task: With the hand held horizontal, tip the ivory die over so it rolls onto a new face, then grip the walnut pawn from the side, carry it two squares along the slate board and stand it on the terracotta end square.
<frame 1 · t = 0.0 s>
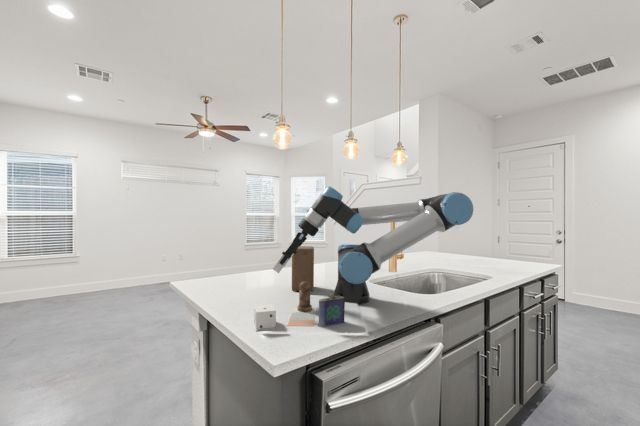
hand: (278, 267, 115), 15 cm above the worktop, tool tilted 35°, fingers open, 13 cm apart
wooden block: (302, 289, 144), on the worktop
board: (303, 318, 103), on the worktop
pawn: (304, 309, 110), point 1 cm above the worktop, touching board
die: (264, 327, 95), on the worktop
flask: (331, 326, 96), on the worktop
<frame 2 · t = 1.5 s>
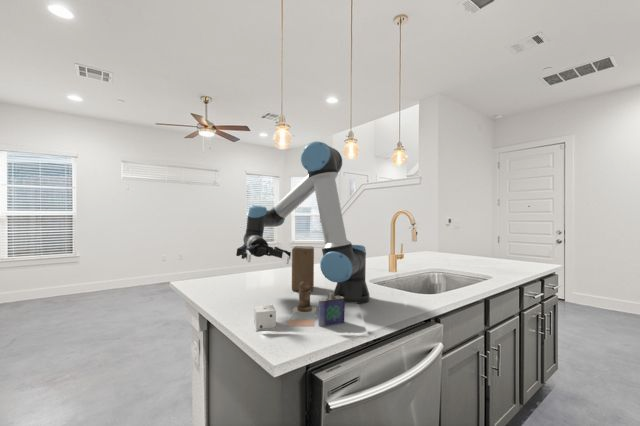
hand: (269, 259, 104), 20 cm above the worktop, tool horizontal, fingers open, 13 cm apart
nothing on the worktop moved.
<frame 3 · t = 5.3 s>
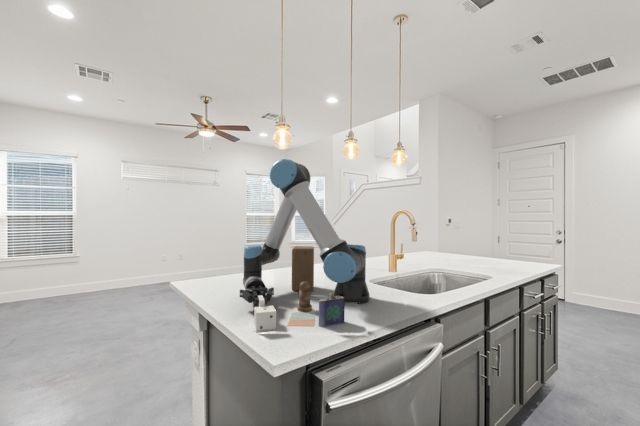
hand: (262, 304, 97), 6 cm above the worktop, tool horizontal, fingers closed
die: (264, 328, 94), on the worktop, touching gripper
everything else where it was.
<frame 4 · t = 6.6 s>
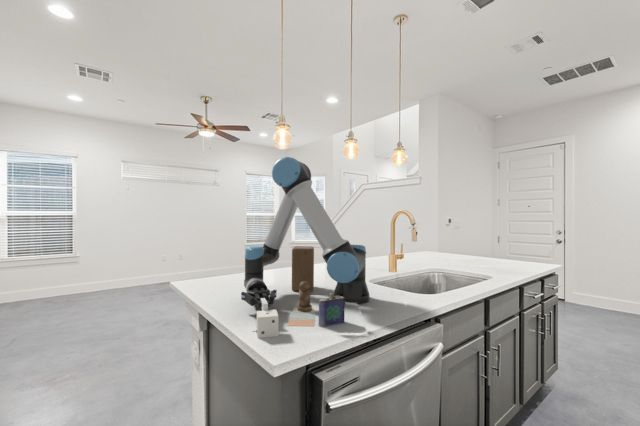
hand: (265, 307, 93), 6 cm above the worktop, tool horizontal, fingers closed
die: (267, 333, 90), on the worktop, touching gripper
everything else where it was.
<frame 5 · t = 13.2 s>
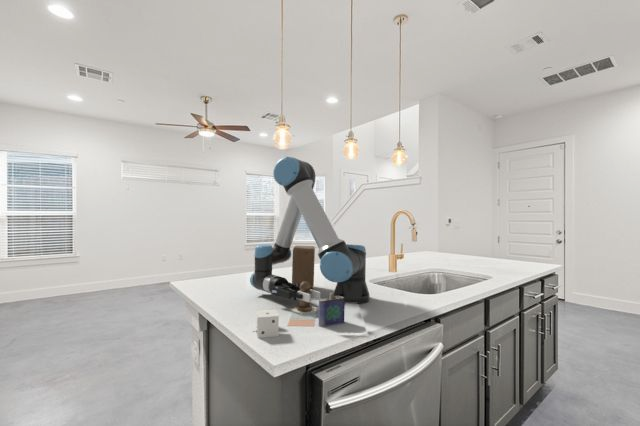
hand: (314, 297, 106), 7 cm above the worktop, tool horizontal, fingers closed on pawn, 4 cm apart
wooden block: (302, 288, 144), on the worktop, touching arm
pawn: (304, 309, 110), point 1 cm above the worktop, touching board, gripper
die: (267, 333, 90), on the worktop
everything else where it was.
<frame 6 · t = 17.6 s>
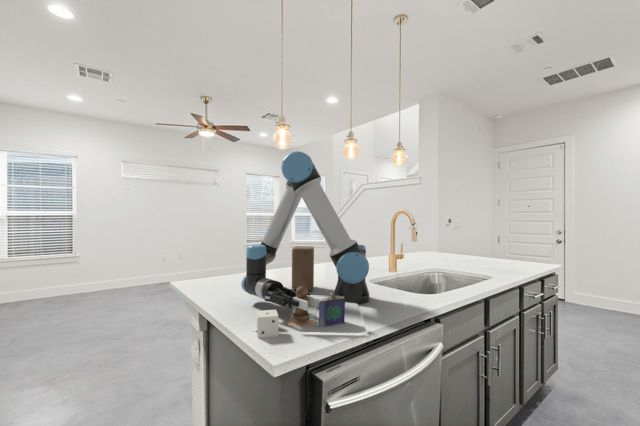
hand: (312, 304, 93), 8 cm above the worktop, tool horizontal, fingers closed on pawn, 4 cm apart
wooden block: (302, 289, 144), on the worktop
pawn: (301, 318, 97), point 2 cm above the worktop, touching gripper
flask: (331, 326, 96), on the worktop, touching gripper
everything else where it was.
when the fingers open (8 cm above the worktop, at t = 17.9 s): pawn drops 1 cm, resting on board.
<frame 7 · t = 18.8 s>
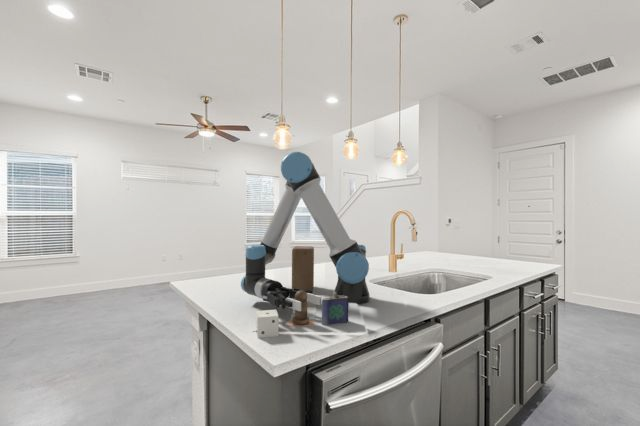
hand: (310, 303, 94), 8 cm above the worktop, tool horizontal, fingers open, 8 cm apart
pawn: (301, 322, 97), point 1 cm above the worktop, touching board
flask: (335, 325, 97), on the worktop
everything else where it was.
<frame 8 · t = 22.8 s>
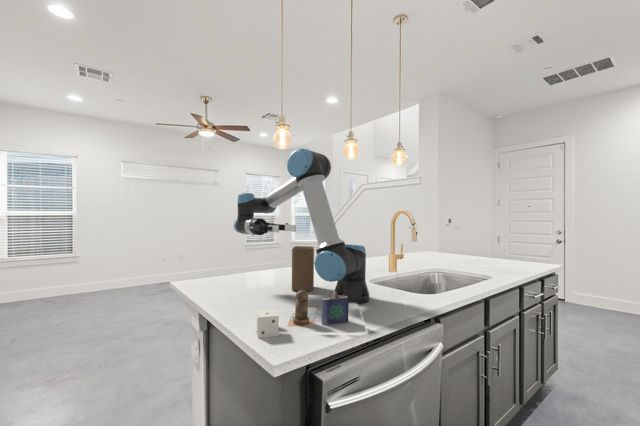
hand: (286, 228, 120), 30 cm above the worktop, tool horizontal, fingers open, 8 cm apart
nothing on the worktop moved.
at the end: pawn 0.2 cm from the target spot on the board, point 0.9 cm above the board's base; pawn tilted 2°; the gripper is holding nothing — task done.
